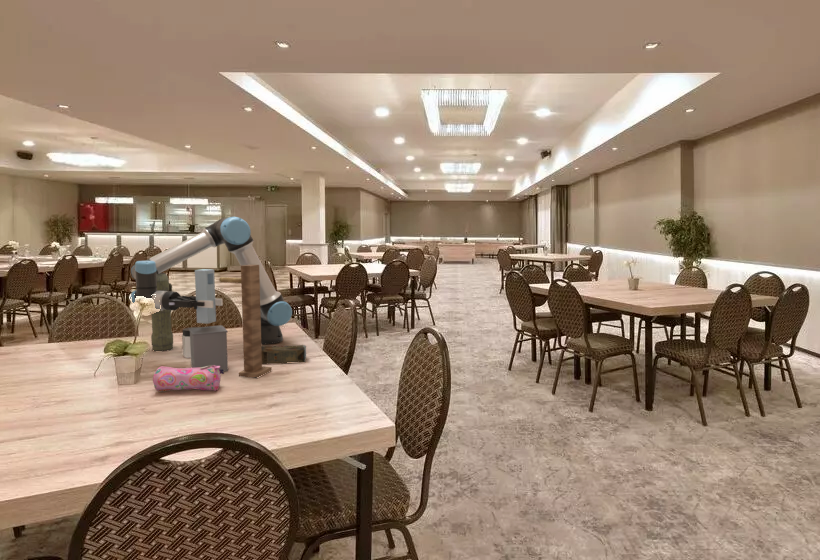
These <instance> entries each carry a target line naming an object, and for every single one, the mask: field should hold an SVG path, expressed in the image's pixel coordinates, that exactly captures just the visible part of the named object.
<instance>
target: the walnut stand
mask: <svg viewBox="0 0 820 560" xmlns="http://www.w3.org/2000/svg"><path fill="white" fill-rule="evenodd" d="M218 281H219V282H220V283H225V284H226V283H227V284H230V283H231V284H241V285H240V286H241V288H240V289H241V312H242V313H241V314H242V317H241V318H242V346H243V347H242V349H243V370H241V371H239V372H238V377H240V376H245V377H244V378H250V377H259V376H261V375H263V374H265V373H266V374H268V373H270V372H271V370H272V367H271V366H265V365H264V366H263V364H262V350H261V346H262V344H261V313H260V276H259V265H251V264H250V265H242V266H240V277H227V276H220V277H219V280H218ZM269 371H270V372H269ZM272 371H273V370H272ZM267 372H268V373H267ZM266 374H265V375H266ZM263 376H264V375H263ZM261 377H262V376H261ZM259 378H260V377H259Z"/></svg>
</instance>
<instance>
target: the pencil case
mask: <svg viewBox="0 0 820 560" xmlns="http://www.w3.org/2000/svg"><path fill="white" fill-rule="evenodd" d="M219 368H220V366H215V365H212V366H211V365H209V366H205V367H199V368H191V367H186V368H185V367H184V368H183V367H182V368H180V367H170V366H163V365H161V366H159V367H158V368H157V369H156V370H155V371H154V374H153V377H152V383H153V387H154V389H155V391H157V392H160V393H161V392H167V391H179V390H199V391H215V392H217V391H218V390H219V388H220V384H221V383H220V382H221V378H222V377H221V374H222V375H223V374H225V373H224V372H225V371H223V369H219ZM217 389H218V390H217ZM216 390H217V391H216Z"/></svg>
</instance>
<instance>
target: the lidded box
mask: <svg viewBox="0 0 820 560" xmlns="http://www.w3.org/2000/svg"><path fill="white" fill-rule="evenodd" d="M196 327H197V328H190V327H188V328H189V331H190V347H191V358H190V366H191V367H190V368H199V367H205V366H209V365H211V366H212V365H215V366H220V368H219V369H223V372H228V371H229V366H228V365H229V364H228V363H229V362H228V361H229V360H228V338H227V337H228V336H227V334H228V330H227V329H226V327H225V326H223V325H213V326H212V325H211V326H196Z"/></svg>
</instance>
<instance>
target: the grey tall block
mask: <svg viewBox="0 0 820 560" xmlns="http://www.w3.org/2000/svg"><path fill="white" fill-rule="evenodd" d="M194 281H195V283H194V284H195V297H196V301H197V302H198V300H208V301H213V307H214V308H203V307H198V306H197V309H195V311H196V313H195V314H196V323H197V324H206V325H207V324H211V323H214V322H217V312H216V310H217V309H216V306H217V305H215V298H216V284H215V269H213V268H211V269H209V268H208V269H207V268H206V269H205V268H202V269H195V270H194Z"/></svg>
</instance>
